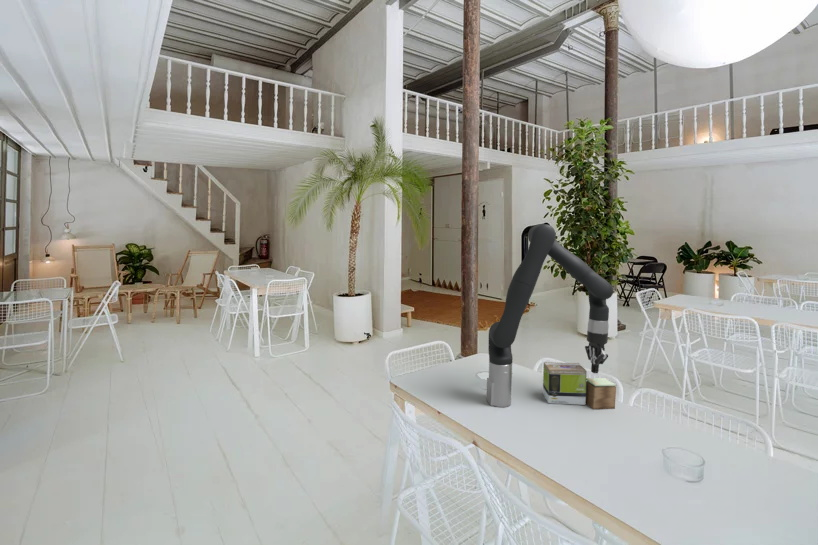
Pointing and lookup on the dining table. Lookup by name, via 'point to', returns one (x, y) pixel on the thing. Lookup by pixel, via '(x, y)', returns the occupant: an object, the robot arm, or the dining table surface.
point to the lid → (600, 382)
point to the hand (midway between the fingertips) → (594, 372)
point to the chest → (600, 396)
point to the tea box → (564, 383)
